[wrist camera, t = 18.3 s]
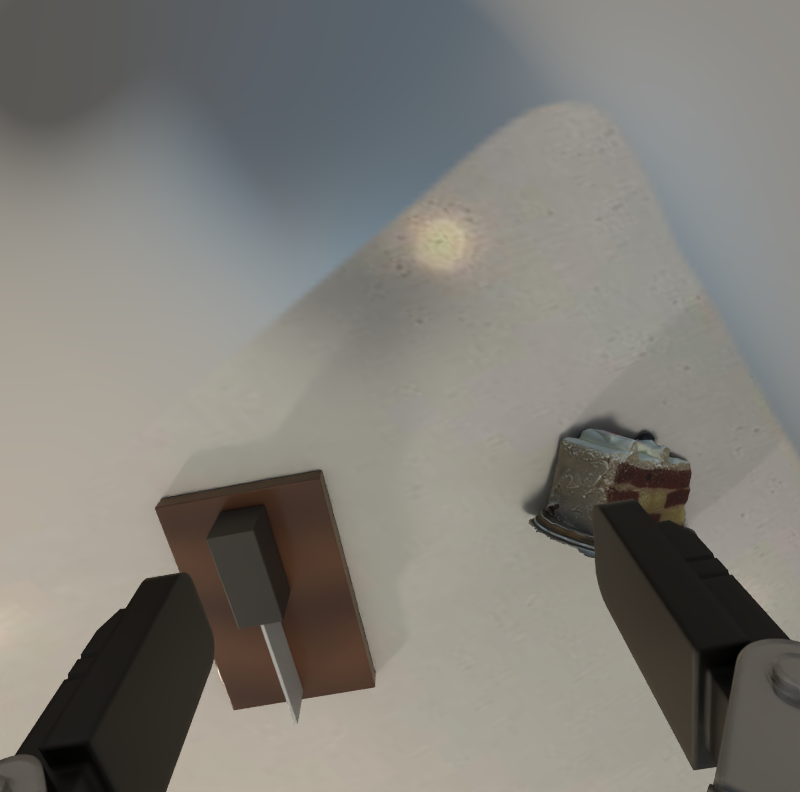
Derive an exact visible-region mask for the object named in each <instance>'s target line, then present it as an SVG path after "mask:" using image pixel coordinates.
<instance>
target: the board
mask: <svg viewBox="0 0 800 792" xmlns="http://www.w3.org/2000/svg"><path fill="white" fill-rule="evenodd" d="M259 505H264V507H265V510H266V513H267V516H268V520H269V523H270V526H271V529H272V532H273V536H274V539H275V542H276V545H277V548H278V552H279V555H280V558H281V561H282V564H283V568H284V571H285V574H286V577H287V580H288V584H289V587H290V590H291V591H290V595H289V599H288V604H287V608H286V612H285V616H284V620H283V621H282V622H281V624H282V627H283V630H284V633H285V636H286V639H287V642H288V645H289V648H290V652H291V655H292V658H293V661H294V664H295V667H296V670H297V673H298V676H299V679H300V682H301V685H302V688H303V695H302V699H306V698H312V697H318V696H324V695H331V694H337V693H343V692H349V691H355V690H361V689H368V688H374V687H375V671H374V667H373V663H372V660H371V656H370V652H369V648H368V644H367V641H366V637H365V633H364V629H363V625H362V622H361V618H360V614H359V610H358V606H357V603H356V599H355V595H354V591H353V587H352V584H351V580H350V576H349V572H348V568H347V565H346V561H345V557H344V553H343V549H342V545H341V542H340V538H339V534H338V530H337V526H336V523H335V519H334V515H333V511H332V507H331V504H330V500H329V496H328V492H327V488H326V485H325V481H324V477H323V473H322V471H321V470H320V471H315V472H309V473H304V474H298V475H293V476H287V477H281V478H276V479H270V480H265V481H259V482H253V483H248V484H242V485H237V486H231V487H225V488H220V489H214V490H209V491H203V492H198V493H192V494H186V495H181V496H175V497H170V498H164V499H161V500H160V502H159V503H158V504H157V506H156V507H155V510H156V512H157V515H158V518H159V520H160V523H161V525H162V528H163V530H164V533H165V536H166V538H167V541H168V543H169V546H170V548H171V551H172V554H173V556H174V559H175V561H176V564H177V566H178V569H179V572H180V573H182V572H186V573H188V574H189V575H190V576H191V578H192V580H193V582H194V585H195V587H196V590H197V593H198V595H199V598H200V600H201V603H202V606H203V608H204V611H205V613H206V616H207V619H208V621H209V624H210V626H211V629H212V632H213V636H214V645H215V651H214V661H215V664H216V667H217V669H218V672H219V674H220V677H221V679H222V682H223V685H224V687H225V690H226V692H227V695H228V697H229V700H230V702H231V705H232V708H233V710H238V709H244V708H251V707H257V706H263V705H269V704H275V703H281V702H287V701H286V698H285V695H284V692H283V689H282V687H281V684H280V681H279V678H278V675H277V672H276V669H275V666H274V663H273V660H272V658H271V655H270V652H269V649H268V646H267V643H266V640H265V637H264V634H263V631H262V629H261V626H260V625H259V626H253V627H247V628H242V629H239V628H238V626H237V623H236V621H235V618H234V615H233V612H232V610H231V607H230V604H229V601H228V599H227V596H226V593H225V590H224V588H223V585H222V582H221V579H220V576H219V574H218V571H217V568H216V565H215V563H214V560H213V557H212V554H211V552H210V549H209V546H208V543H207V541H206V538H207V536H208V534H209V532H210V530H211V528H212V526H213V524H214V522H215V521H216V519H217V517H218V515H219V513H220V512H225V511H231V510H236V509H242V508H248V507H253V506H259Z"/></svg>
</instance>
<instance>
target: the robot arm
mask: <svg viewBox="0 0 800 792" xmlns="http://www.w3.org/2000/svg"><path fill="white" fill-rule="evenodd" d="M592 520H593V535H594V551H595V566H596V575H597V580H598V585H599V588H600V592H601V595H602V597H603V600H604V602H605V604H606V606H607V608H608V610H609V612H610V614H611V616H612V618H613V619H614V621H615V623H616V625H617V627H618V629H619V631H620V633H621V635H622V636H623V638H624V640H625V642H626V644H627V646H628V648H629V650H630V651H631V653H632V655H633V657H634V659H635V661H636V663H637V665H638V667H639V668H640V670H641V672H642V674H643V676H644V678H645V680H646V682H647V684H648V685H649V687H650V689H651V691H652V693H653V695H654V697H655V699H656V700H657V702H658V704H659V706H660V708H661V710H662V712H663V714H664V716H665V717H666V719H667V721H668V723H669V725H670V727H671V729H672V731H673V733H674V734H675V736H676V738H677V740H678V742H679V744H680V746H681V748H682V750H683V751H684V753H685V755H686V757H687V759H688V761H689V763H690V765H691V766H692V768H693V770H698V769H705V768H712V767H717V769H716V774H715V779H714V783H713V785H712V784H710V785H709V787H708V790H707V792H800V642H798V641H793V640H790V639H789V637H788V636H787V635H786V634H785V633H784V632H783V631H782V630H781V629H780V628H779V626H778V625H777V624H776V623H775V622H774V621H773V620H772V619H771V618H770V616H769V615H768V614H767V613H766V612H765V611H764V610H763V609H762V608H761V606H760V605H759V604H758V603H757V602H756V601H755V600H754V599H753V598H752V596H751V595H750V594H749V593H748V592H747V591H746V590H745V589H744V588H743V586H742V585H741V584H740V583H739V582H738V581H737V580H736V579H735V578H734V576H733V575H729V573H728V570H727V569H726V568H725V566H724V565H723V564H722V563H721V562H720V561H719V560H718V559H717V558H714V555H713V553H712V552H711V551H710V550H709V549H708V548H707V546H706V545H705V544H704V543H703V542H702V541H701V540H700V539H699V538H698V536H697V535H696V534H694V533H692V532H690V531H688V530H687V529H685V528H683V527H681V526H680V525H678V524H676V523H674V522H672V521H671V520H667V521H661V522H654V521H653V520H652V518H651V517H650V516H649V515H648V513H647V512H646V511H645V510H644V508H643V507H642V506H641V505H640V504H639V502H638V501H637V500H635V499H627V500H621V501H615V502H609V503H603V504H597V505H594V506H593V509H592ZM214 651H215V645H214V636H213V632H212V629H211V626H210V624H209V621H208V619H207V616H206V613H205V611H204V608H203V606H202V603H201V600H200V598H199V595H198V593H197V590H196V587H195V585H194V582H193V580H192V578H191V576H190V575H189V574H188V573H186V572H182V573H176V574H170V575H164V576H158V577H152V578H147V579H145V580H144V581H143V582H142V583H141V585H140V586H139V588H138V589H137V591H136V593H135V594H134V596H133V597H132V599H131V601H130V602H129V604H128V605H127V607H126V608H125V609H120V610H119V611H118V612H117V613H115V614H114V615H113V616H112V617H111V618H110V619H109V620H108V621H107V622H106V623H105V624H104V625H102V626H101V627H100V628H99V629H98V630H97V631H96V633H95V634H94V636H93V637H92V639H91V640H90V642H89V643H88V645H87V646H86V648H85V649H84V651H83V652H82V654H81V659H78V660H77V661H76V663H75V664H74V666H73V667H72V669H71V671H70V672H69V674H68V679H66V680H64V681H63V683H62V684H61V686H60V687H59V689H58V690H57V692H56V693H55V695H54V696H53V698H52V699H51V701H50V702H49V704H48V705H47V707H46V709H45V710H44V712H43V713H42V715H41V716H40V718H39V719H38V721H37V722H36V724H35V725H34V727H33V728H32V730H31V731H30V733H29V734H28V736H27V737H26V739H25V740H24V742H23V743H22V745H21V747H20V748H19V750H18V751H17V753H16V754H15V756H11V757H8V758H5V759H2V760H0V792H166V790H167V787H168V785H169V782H170V779H171V777H172V774H173V771H174V768H175V766H176V763H177V760H178V757H179V755H180V752H181V749H182V747H183V744H184V741H185V738H186V736H187V733H188V730H189V727H190V725H191V722H192V719H193V717H194V714H195V711H196V708H197V706H198V703H199V700H200V697H201V695H202V692H203V689H204V686H205V684H206V681H207V678H208V676H209V673H210V670H211V667H212V664H213V660H214Z"/></svg>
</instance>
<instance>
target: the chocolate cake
mask: <svg viewBox="0 0 800 792" xmlns="http://www.w3.org/2000/svg"><path fill="white" fill-rule="evenodd" d="M669 454H670V449H669V448H668V447H666V446H658V445H656V443H655V442H654V436H653V435H651V434H649V433H643V434H641V435H640V436H639V438H638V439H637V440H634V439H630V438H627V437H623V436H620V435H617V434H614V433H610V432H607V431H604V430H598V429H586V430H584V431H583V432H582V433H581V436H580V437H579V438H578V439H577V438H571V437H568V438H563V439H562V440H561V443H560V447H559V459H558V463H557V465H556V468H555V475H554V479H553V485H552V490H551V493H550V497H549V501H548V505H547V507H546V510H541V511H540V512H539V513H538V515H537V516H536V517H535V518H533V519H530V521H529V524H531V525H532V527H535V528H534V529H537V531H536V532H541V533H543V534H545V535H547V537H550V539H553V540H556V541H558V542H561V543H563V544H566V545H567V544H568V545H570V546H572V547H575V548H577V549H578V550H579V552H581V553H584V555H585V556H588V557H591V558H595V551H594V535H593V520H592V509H593V506H594V505H597V504H603V503H609V502H615V501H621V500H627V499H635V500H637V501H638V502H639V504H640V505H641V506H642V507H643V508H644V510H645V511H646V512H647V513H648V515H649V516H650V517H651V518H652V520H653V521H654V522H661V521H667V520H671V521H672V522H674V523H676V524H678V525H680V526H681V527H683V528H685V529H687V530H688V531H690V532H692V533H694V534H696V533H695V531H693V530H692V529H689V528H686V527H684V526H683V525H684V522H685V510H684V505H685V503H686V502H687V500H688V495H689V492H690V487H689V483H690V479H691V468H690V463H689V462H688V461H684V460H681V459H679V458H672V457H669ZM696 535H697V534H696Z"/></svg>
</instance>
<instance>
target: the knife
mask: <svg viewBox="0 0 800 792" xmlns="http://www.w3.org/2000/svg"><path fill="white" fill-rule="evenodd" d="M206 541H207V543H208V546H209V549H210V552H211V554H212V557H213V560H214V563H215V565H216V568H217V571H218V574H219V576H220V579H221V582H222V585H223V588H224V590H225V593H226V596H227V599H228V601H229V604H230V607H231V610H232V612H233V615H234V618H235V621H236V623H237V626H238V628H239V629H242V628H247V627H253V626H259V625H260V626H261V629H262V631H263V634H264V637H265V640H266V643H267V646H268V649H269V652H270V655H271V658H272V660H273V663H274V666H275V669H276V672H277V675H278V678H279V681H280V684H281V687H282V689H283V692H284V695H285V698H286V701H287V704H288V707H289V710H290V713H291V716H292V718H293V721H294V724H298V719H299V713H300V707H301V701H302V695H303V688H302V685H301V682H300V679H299V676H298V673H297V670H296V667H295V664H294V661H293V658H292V655H291V652H290V648H289V645H288V642H287V639H286V636H285V633H284V630H283V627H282V624H281V622H282V621H283V620H284V616H285V612H286V608H287V604H288V599H289V595H290V591H291V590H290V587H289V584H288V580H287V577H286V574H285V571H284V568H283V564H282V561H281V558H280V555H279V552H278V548H277V545H276V542H275V539H274V536H273V532H272V529H271V526H270V523H269V520H268V516H267V513H266V510H265V507H264V505H259V506H253V507H248V508H242V509H236V510H231V511H225V512H220V513H219V515H218V517H217V519H216V521H215V522H214V524H213V526H212V528H211V530H210V532H209V534H208V536H207V538H206Z"/></svg>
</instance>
